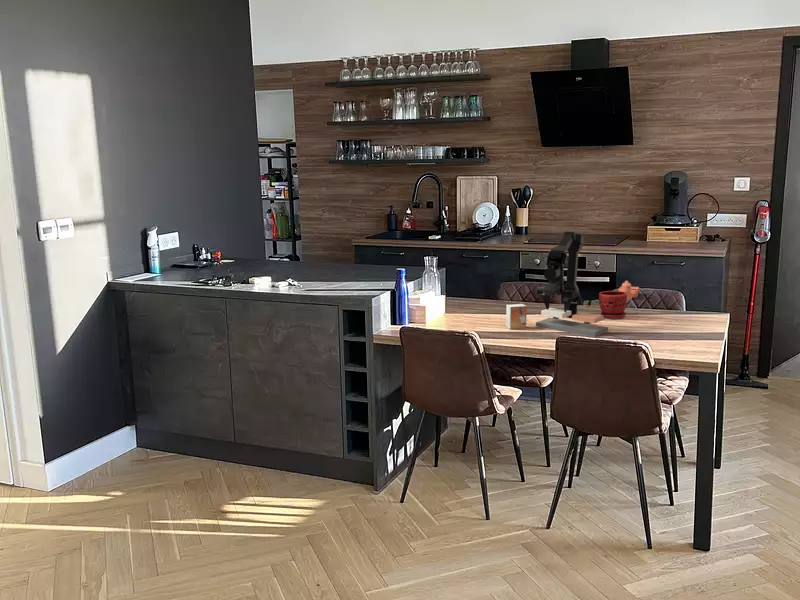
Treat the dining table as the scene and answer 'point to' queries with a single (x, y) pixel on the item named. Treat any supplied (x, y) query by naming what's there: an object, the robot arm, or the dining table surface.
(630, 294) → the pottery
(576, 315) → the terracotta key
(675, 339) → the dining table surface
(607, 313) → the plant pot
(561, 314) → the cream rectangular block
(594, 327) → the key panel
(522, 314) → the small box
